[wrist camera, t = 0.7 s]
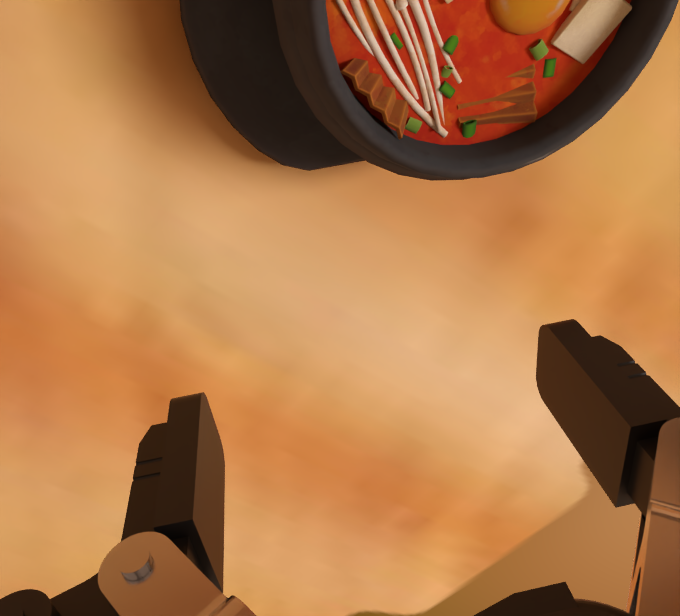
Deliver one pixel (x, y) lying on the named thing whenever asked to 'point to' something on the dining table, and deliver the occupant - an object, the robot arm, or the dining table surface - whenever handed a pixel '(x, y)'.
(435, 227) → the dining table surface
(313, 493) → the dining table surface
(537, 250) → the dining table surface
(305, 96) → the casserole
